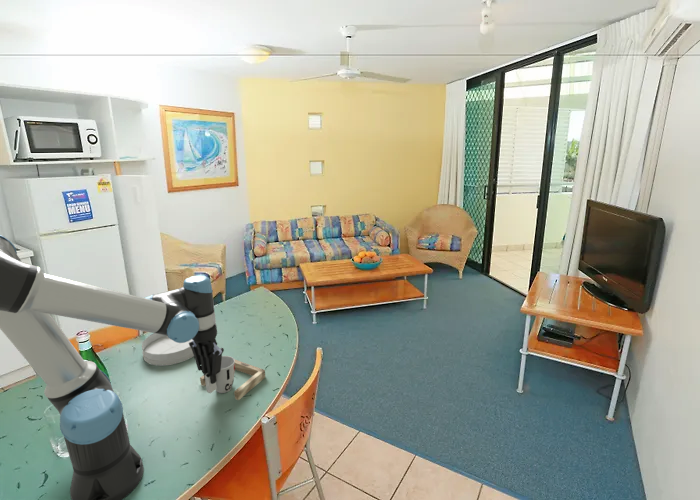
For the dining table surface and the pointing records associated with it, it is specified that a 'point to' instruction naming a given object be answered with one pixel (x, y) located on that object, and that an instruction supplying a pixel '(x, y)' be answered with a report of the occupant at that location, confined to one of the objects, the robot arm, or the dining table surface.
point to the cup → (225, 375)
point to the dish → (165, 350)
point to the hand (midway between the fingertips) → (211, 390)
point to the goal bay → (256, 377)
